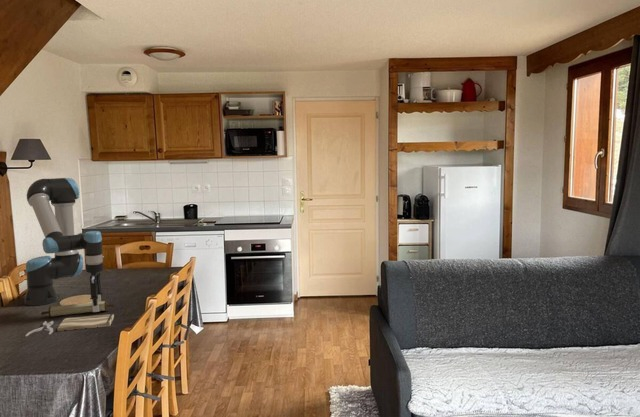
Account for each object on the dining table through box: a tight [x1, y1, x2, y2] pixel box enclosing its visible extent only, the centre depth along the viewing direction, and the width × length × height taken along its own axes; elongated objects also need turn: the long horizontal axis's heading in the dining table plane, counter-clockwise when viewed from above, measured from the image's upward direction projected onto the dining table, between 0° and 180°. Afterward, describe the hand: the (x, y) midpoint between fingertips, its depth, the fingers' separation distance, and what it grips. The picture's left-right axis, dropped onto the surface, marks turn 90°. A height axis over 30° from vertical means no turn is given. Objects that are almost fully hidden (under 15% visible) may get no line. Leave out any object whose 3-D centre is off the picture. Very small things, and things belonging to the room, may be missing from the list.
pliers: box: [24, 320, 54, 337], centre depth 205 cm, size 10×2×15 cm
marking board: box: [56, 313, 115, 332], centre depth 211 cm, size 13×21×2 cm, turn 106°
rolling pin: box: [40, 300, 116, 318], centre depth 225 cm, size 32×6×5 cm, turn 109°
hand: (97, 309), depth 228 cm, fingers closed on rolling pin, 5 cm apart
